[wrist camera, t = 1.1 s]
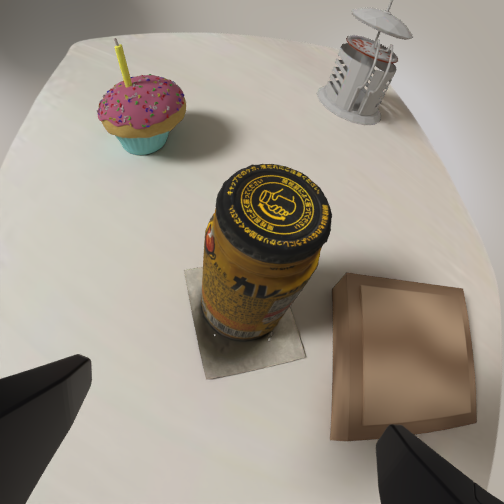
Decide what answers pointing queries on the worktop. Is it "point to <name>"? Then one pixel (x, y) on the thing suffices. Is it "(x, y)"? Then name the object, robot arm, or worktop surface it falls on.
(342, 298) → the walnut base
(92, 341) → the worktop surface
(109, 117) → the cupcake
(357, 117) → the french press
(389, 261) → the worktop surface
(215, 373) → the condiment
